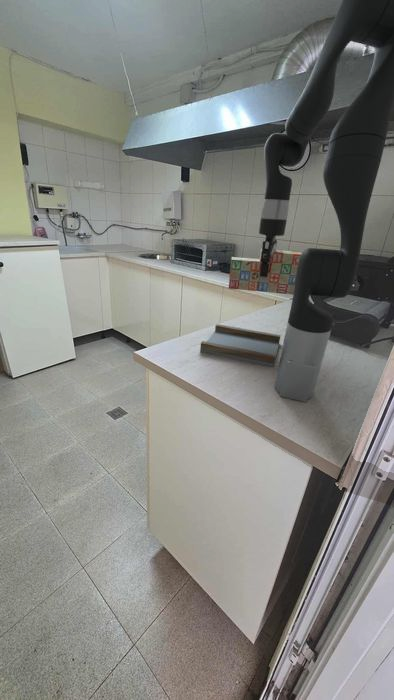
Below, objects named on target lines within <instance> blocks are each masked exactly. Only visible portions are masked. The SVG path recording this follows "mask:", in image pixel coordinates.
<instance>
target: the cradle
mask: <svg viewBox="0 0 394 700" xmlns="http://www.w3.org/2000/svg"><path fill="white" fill-rule="evenodd" d="M281 336H282V335H281V334H275V333H270V332H263V331H258V330H252V329H247V328H240V327H235V326H229V325H223V324H218V323H217V324H215V329H214V331H213V333H212V334H211V336H210V337H209V338H208V339H207V340H206V341H205V340H202V341H201V342H200V348H199V349H200V350H199V352H200V353H204V354H209V355H213V356H219V357H223V358H228V359H232V360H237V361H242V362H247V363H250V364H251V363H253V364H256V365H257V364H258V365H262V366H267V367H272V368H274V367H275V363H276V357H277V353H278V348H279V345H280V341H281Z"/></svg>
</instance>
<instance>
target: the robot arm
mask: <svg viewBox="0 0 394 700" xmlns="http://www.w3.org/2000/svg"><path fill="white" fill-rule="evenodd" d="M350 42H353V43H358V44H361V45H365V46H367V47H372V48H373V49H374V58H373V63H372V66H371V69H370V72H369V75H368V78H367V80H366V83H365V85H364V86H363V88H362V89H361V91H360V92H359V94H357V96H356V97H355V99H354V100H353V101H352V103H350V105H349V106H348V108H347V109H346V110H345V112H344V113H343V114H342V115H341V117H340V118H339V120H338V121H337V123H336V124H335V126H334V128H333V130H332V131H331V134H330V137H329V141H328V146H327V151H326V157H325V160H324V167H323V175H322V177H323V182H324V186H325V189H326V192H327V195H328V197H329V199H330V202H331V204H332V206H333V209H334V212H335V214H336V216H337V221H338V224H339V228H340V229H339V230H340V231H339V232H340V248H339V249H328V248H327V249H326V248H317V247H309V248H306V249H304V251H302V252H301V253H302V255H301V257H300V259H299V263H298V268H297V274H296V281H295V288H294V294H293V296H292V300H291V305H290V310H289V315H288V319H287V323H286V324H287V325H286V330H285V334H284V339H283V343H282V347H281V348H282V349H281V352H280V358H279V362H278V367H277V373H276V378H275V383H274V388H275V390H276V391H277V392H278V393H279V395H278V396H279V397H282V398H287V399H292V400H296V401H300V402H304V403H307V401H308V399H311V398H312V397H313V395H314V393H315V388H316V385H317V381H318V378H319V374H320V371H321V367H322V364H323V360H324V357H325V352H326V349H327V346H328V343H329V338H330V336H331V332H332V329H333V326H334V325H333V324H334V319H335V318H334V316H333V314H331V313H330V312H329V311H327V310H325V309H323V308H321V307H319V306H317V305H316V304H314V303H313V302H312V301H310V299H309V298H310V296H317V297H326V298H337V299H342V298H345V297H347V296H348V295H349V293H350V292H351V290H352V288H353V286H354V282H355V280H356V275H357V271H358V267H359V266H358V265H359V262H360V255H361V249H362V243H363V237H364V231H365V226H366V219H367V215H368V210H369V206H370V203H371V198H372V195H373V190H374V188H375V187H374V186H375V185H376V184H375V183H376V179H377V177H378V172H379V169H380V166H381V162H382V158H383V154H384V149H385V144H386V141H387V134H388V132H389V131H388V129H389V125H390V121H391V117H392V113H393V108H394V0H342V1H341V4H340V5H339V7H338V10H337V12H336V15H335V17H334V19H333V22H332V23H331V27H330V29H329V31H328V33H327V35H326V38H325V40H324V43H323V45H322V48H321V50H320V52H319V55H318V57H317V60H316V62H315V64H314V66H313V69H312V70H311V71H312V72H311V74H310V76H309V78H308V80H307V83H306V84H305V87H304V89H303V91H302V93H301V94H300V96H299V98H298V100H297V101H296V103H295V105H294V106H293V109H292V110H291V111H290V114H289V115H288V116H287V117H288V118H286V122H285V127H284V129H285V132H286V133H281V132H274V133H272V134H271V135H270V136H268V138H267V140H266V142H265V143H264V144H265V145H264V147H263V148H264V150H263V159H264V167H265V181H266V182H265V192H264V200H263V204H262V209H261V213H260V215H261V216H260V222H259V229H258V234H259V235H261V236H265V240H263V242H262V244H261V245H262V246H261V249H262V252H261V251H260V252H261V259H260V262H261V271H260V276H261V277H267V275H268V269H269V264H270V259H271V258H272V257H273V252H274V251H275V250H277V246H278V239H277V237H283V236H284V235H285V231H286V226H287V220H288V214H289V209H290V208H289V206H290V198H291V192H292V187H293V186H292V185H293V180H292V178H291V177H290V176H287V175H285V174H283V173H282V172H281V170H280V167H287V168H289V167H295V166H297V165H298V164H300V163H301V162H302V160H303V158H304V155H305V153H306V150H307V147H308V145H309V142H310V141H311V137H312V135H313V133H314V132H315V131H316V129H317V128H318V127H319V126H320V124H321V123H322V121H323V119H324V118H325V116H326V115H327V114H328V112H329V110H330V107H331V105H332V101H333V99H334V92H335V82H336V73H337V68H338V63H339V59H340V57H341V55H342V54H343V52H344V50H346V47H347V46H348V45H349V44H350ZM264 257H268V259H265V258H264Z"/></svg>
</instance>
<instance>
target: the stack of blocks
mask: <svg viewBox="0 0 394 700" xmlns="http://www.w3.org/2000/svg"><path fill="white" fill-rule="evenodd" d="M259 252H260V253H259V257H258V258H250V257H237V256H236V257H235V256H231V261H230V269H229V276H228V277H229V279H228V289H229V290H239V291H249V292H261V293H262V292H263V293H274V294H283V295H293V294H294V288H295V281H296V274H297V268H298V263H299V259H300V257H301V255H302V253H303V252H299V251H298V252H297V251H291V250H282V249H280V250H277V249H276V250H275V251H274V252H273V257H272V258H271V259H270V264H269V269H268V275H267V277H261V276H260V271H261V262H260V259H261V252H262V248H261V249H260V251H259ZM264 258H265V259H268V257H264Z"/></svg>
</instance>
